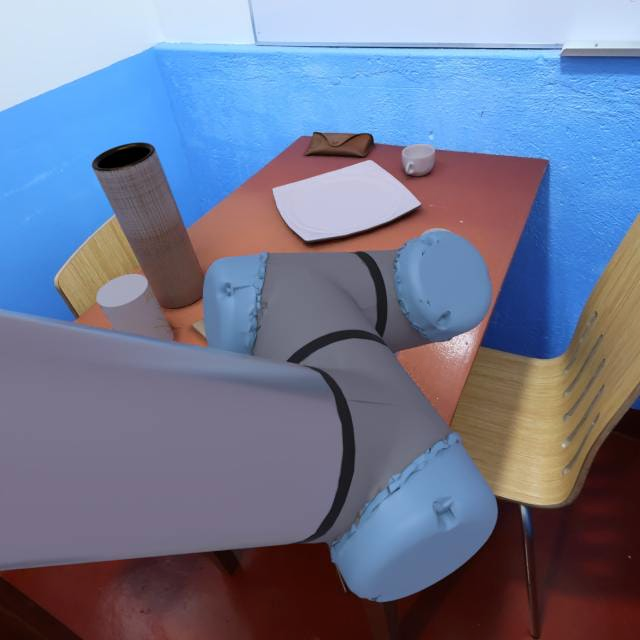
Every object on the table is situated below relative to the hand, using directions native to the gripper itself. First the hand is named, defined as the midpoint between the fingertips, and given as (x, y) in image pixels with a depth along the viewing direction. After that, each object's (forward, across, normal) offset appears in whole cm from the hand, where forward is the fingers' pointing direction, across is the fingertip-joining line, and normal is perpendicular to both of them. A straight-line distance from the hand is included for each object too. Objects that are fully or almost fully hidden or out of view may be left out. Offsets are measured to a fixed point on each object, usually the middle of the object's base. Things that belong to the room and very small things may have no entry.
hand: (285, 354), depth 64 cm
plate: (+29, +42, +17) cm, 54 cm away
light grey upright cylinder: (+25, -10, +14) cm, 31 cm away
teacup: (+26, +63, +14) cm, 69 cm away
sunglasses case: (+44, +63, +33) cm, 84 cm away
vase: (+31, +1, +19) cm, 36 cm away
